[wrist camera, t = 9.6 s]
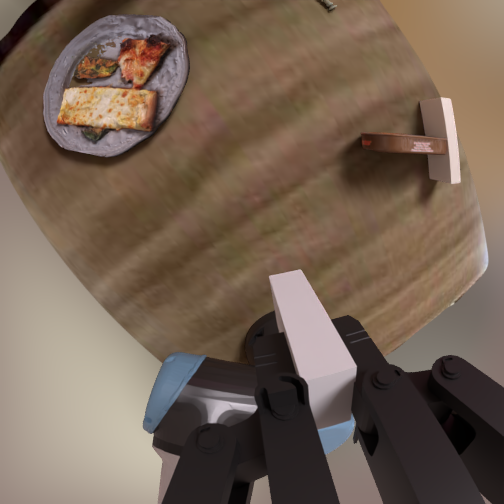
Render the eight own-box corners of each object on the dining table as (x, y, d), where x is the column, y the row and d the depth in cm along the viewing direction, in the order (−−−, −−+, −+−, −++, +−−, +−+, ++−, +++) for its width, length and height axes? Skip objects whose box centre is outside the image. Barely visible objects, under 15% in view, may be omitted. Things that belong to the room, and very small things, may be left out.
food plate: (213, 28, 29) (211, 18, 26) (160, 169, 36) (153, 171, 33) (82, 20, 25) (72, 14, 22) (39, 141, 33) (26, 142, 29)
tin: (424, 135, 36) (456, 136, 28) (426, 153, 37) (458, 156, 30) (350, 132, 36) (378, 128, 28) (352, 152, 37) (380, 153, 29)
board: (438, 177, 39) (460, 182, 33) (429, 178, 39) (451, 183, 33) (428, 101, 34) (450, 98, 28) (419, 101, 34) (440, 97, 28)
